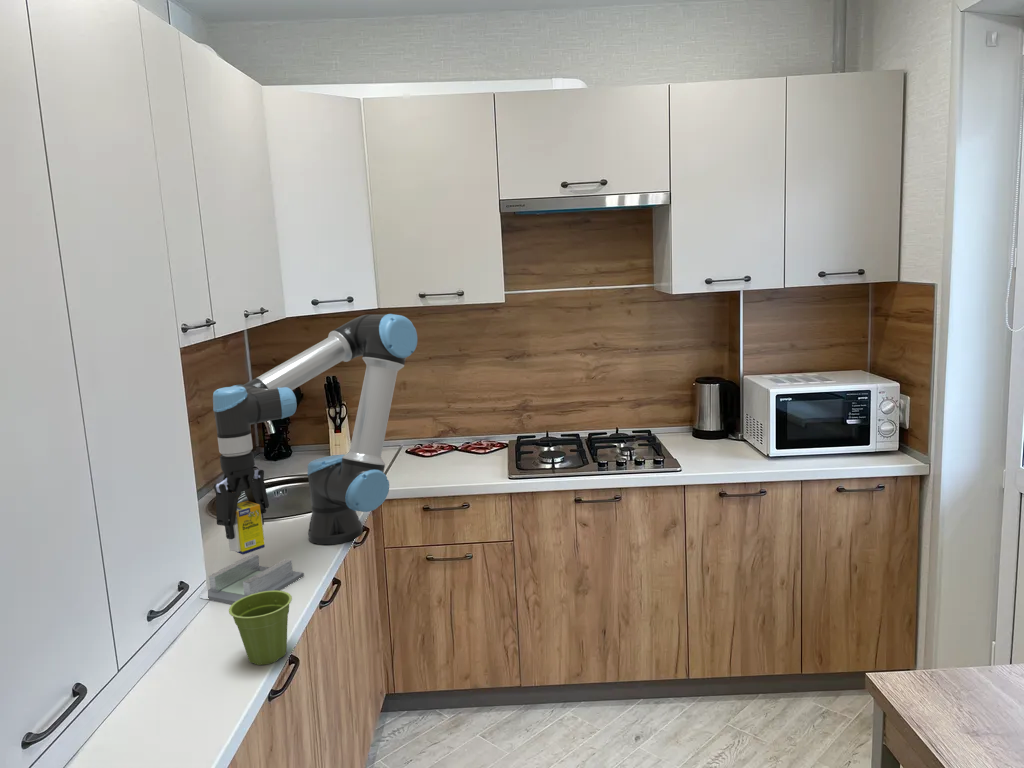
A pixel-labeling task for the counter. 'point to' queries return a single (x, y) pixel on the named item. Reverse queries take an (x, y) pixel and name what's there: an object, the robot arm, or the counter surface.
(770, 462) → the counter surface
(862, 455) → the counter surface
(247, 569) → the docking plate
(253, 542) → the supplement box
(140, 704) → the counter surface
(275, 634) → the plant pot
